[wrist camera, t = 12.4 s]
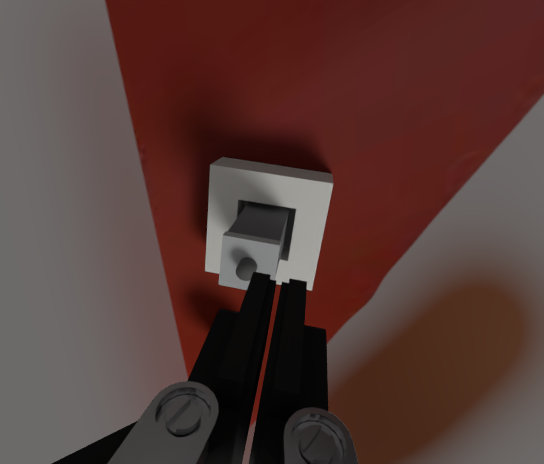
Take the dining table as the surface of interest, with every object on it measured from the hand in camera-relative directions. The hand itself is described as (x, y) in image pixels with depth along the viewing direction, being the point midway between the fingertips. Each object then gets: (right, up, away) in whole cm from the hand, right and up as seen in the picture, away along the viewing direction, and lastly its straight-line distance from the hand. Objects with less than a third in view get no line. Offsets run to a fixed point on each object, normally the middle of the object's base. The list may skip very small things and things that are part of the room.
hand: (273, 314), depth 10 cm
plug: (0, +4, +23) cm, 24 cm away
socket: (0, +4, +24) cm, 25 cm away
